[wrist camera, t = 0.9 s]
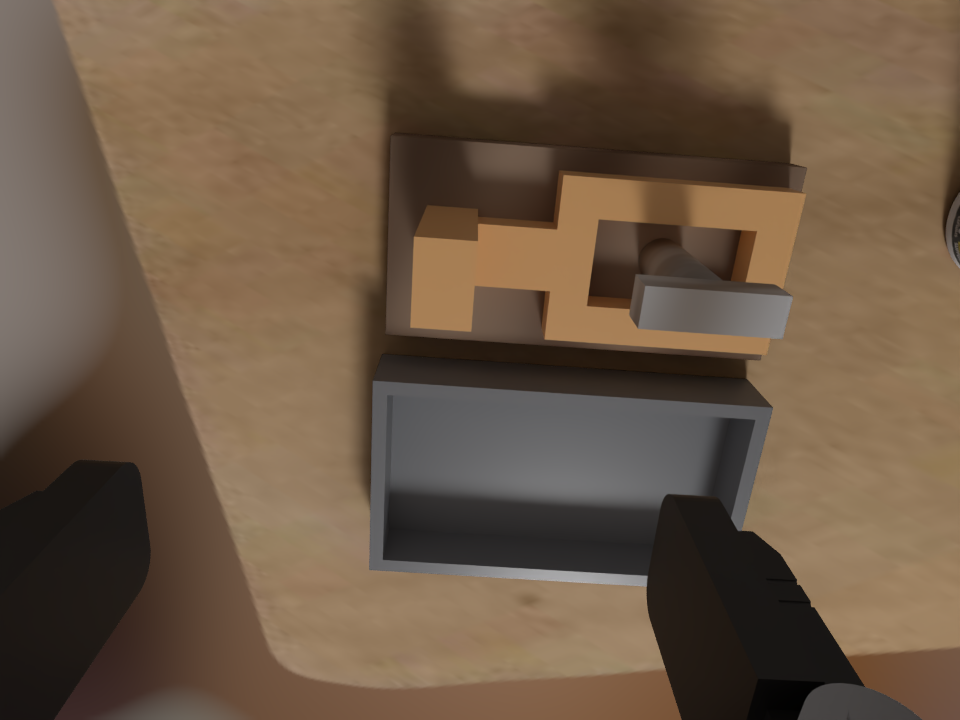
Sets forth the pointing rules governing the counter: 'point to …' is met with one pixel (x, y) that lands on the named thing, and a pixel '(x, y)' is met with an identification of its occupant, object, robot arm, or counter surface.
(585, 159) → the board
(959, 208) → the supplement bottle
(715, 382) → the tray
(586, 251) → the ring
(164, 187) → the counter surface
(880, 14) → the counter surface
